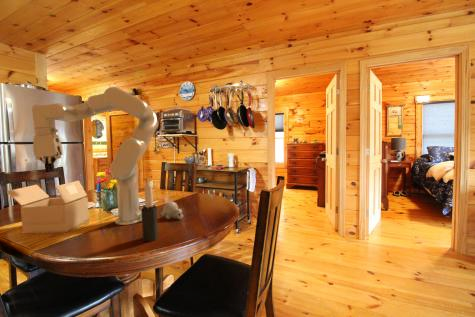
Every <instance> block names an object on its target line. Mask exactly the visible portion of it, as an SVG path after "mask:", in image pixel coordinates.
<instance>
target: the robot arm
mask: <svg viewBox="0 0 475 317" xmlns="http://www.w3.org/2000/svg"><path fill="white" fill-rule="evenodd" d="M116 110H117V111H118V110H120V111H122V112H124V113H126V114H127V115H130V116H131V117H133V118H136V119H138V120H139V121H138V124H137V125H136V127H135V128H134V129H135V130H134V131H133V133H132V135H131V137H129V138H126V139H125V140H124V141H123V142H121V144H120V146H119V148H118V150H117V151H116V153H115V156H114V158H113V160H112V162H111V164H110V167H109V172H110V175H111V176H112V178H113V179H115V180H116V195H117V214H118V217H117V218H116V219H115V221H114V223H115V225H121V226H124V225H125V226H126V225H133V224H136V223H137V224H138V223H139V222H142V210H141V209H140V199H139V196H140V195H139V165H138V161H139V159H140V158H141V157H143V156H144V154H145V153H146V152H147V149H148V147H149V144H150V143H151V140H152V139H153V135H154V134H155V133H156V132H155V131H156V130H157V126H158V119H157V118H158V117H157V114H156V113H155V111H154V109H153V108H152V107H151V106H150V105H149V104H148V103H147V102H146V101H144V100H142V99H140V98H139V97H136V96H134V95H132V94H130V93H129V92H127V91H125V90H123V89H122V88H119V87H116V86H111V87H108V88H106V89H105V91H104V92H103V93H100V94H94V95H90V96H88V98H87V101H85V102H82V103H79V104H76V105H70V106H69V105H66V104H62V103H49V104H35V105H34V104H33V105H32V107H31V111H32V120H33V126H34V136H33V142H32V143H33V144H32V145H33V146H32V147H33V155H34V157H35V160H37V161H41V162H42V164H44V169H45V173H52V172H55V163H56V161H57V160H59V159H62V155H64V154H63V147H62V143H61V138H60V136H59V134H57V133H58V132H59V130H58V129H57V128H56V121H61V122H67V123H71V122H72V123H73V122H77V121H82V120H87V119H89V118H92V117H94V116H97V115H100V114H103V113H108V112H112V111H116Z"/></svg>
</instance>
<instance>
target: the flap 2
mask: <svg viewBox="0 0 475 317" xmlns="http://www.w3.org/2000/svg"><path fill="white" fill-rule="evenodd" d="M54 188H55V189H56V191H57V193H58V194H59V198H62V200H63V202H64V204H66V203H68V202H71V201H74V200H76V199H79V198H82V197H86V196H87V197H88V195H87V193H86V191H85V189H84V187H83V185H82V184H81V181H80V180H75V181H72V182H67V183H64V184H59V185H56V186H54Z"/></svg>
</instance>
